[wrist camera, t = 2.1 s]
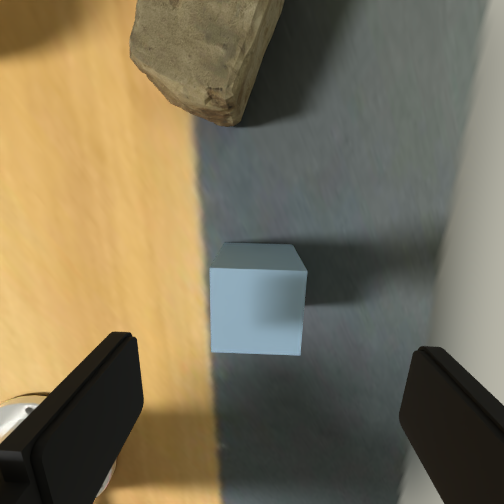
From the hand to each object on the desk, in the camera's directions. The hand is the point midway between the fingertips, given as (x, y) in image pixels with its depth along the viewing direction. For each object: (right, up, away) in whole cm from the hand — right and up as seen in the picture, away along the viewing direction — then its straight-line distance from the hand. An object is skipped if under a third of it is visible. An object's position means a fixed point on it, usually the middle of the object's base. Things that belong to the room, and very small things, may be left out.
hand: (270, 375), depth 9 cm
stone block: (-2, +18, +7) cm, 20 cm away
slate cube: (0, +2, +11) cm, 11 cm away
